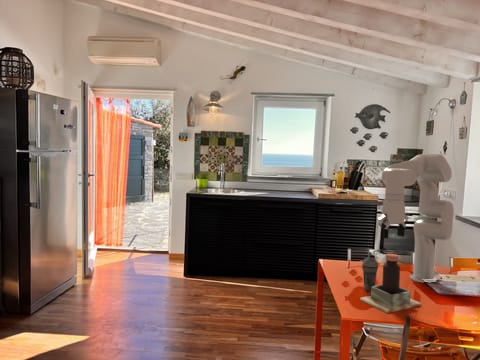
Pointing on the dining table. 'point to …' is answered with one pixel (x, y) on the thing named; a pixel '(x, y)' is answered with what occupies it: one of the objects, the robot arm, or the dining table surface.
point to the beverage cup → (369, 272)
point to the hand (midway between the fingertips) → (392, 236)
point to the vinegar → (391, 274)
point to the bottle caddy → (390, 299)
